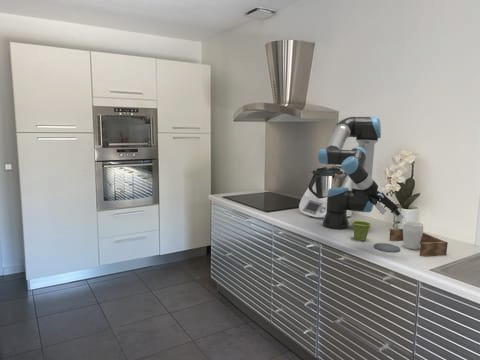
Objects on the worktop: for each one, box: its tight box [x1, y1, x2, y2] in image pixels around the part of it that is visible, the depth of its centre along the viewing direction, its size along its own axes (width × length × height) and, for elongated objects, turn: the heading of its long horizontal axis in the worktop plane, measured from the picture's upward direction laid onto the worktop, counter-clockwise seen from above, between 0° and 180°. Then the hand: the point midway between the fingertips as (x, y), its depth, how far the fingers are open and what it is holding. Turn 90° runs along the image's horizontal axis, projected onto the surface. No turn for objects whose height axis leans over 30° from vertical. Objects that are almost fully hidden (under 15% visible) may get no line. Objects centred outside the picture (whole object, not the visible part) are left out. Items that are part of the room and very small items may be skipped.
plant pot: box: [351, 220, 372, 241], centre depth 185 cm, size 9×9×9 cm
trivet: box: [373, 242, 401, 253], centre depth 171 cm, size 12×12×1 cm
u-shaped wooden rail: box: [388, 228, 448, 257], centre depth 174 cm, size 14×24×6 cm, turn 11°
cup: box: [402, 221, 424, 250], centre depth 173 cm, size 9×9×12 cm
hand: (392, 215), depth 169 cm, fingers open, 13 cm apart
